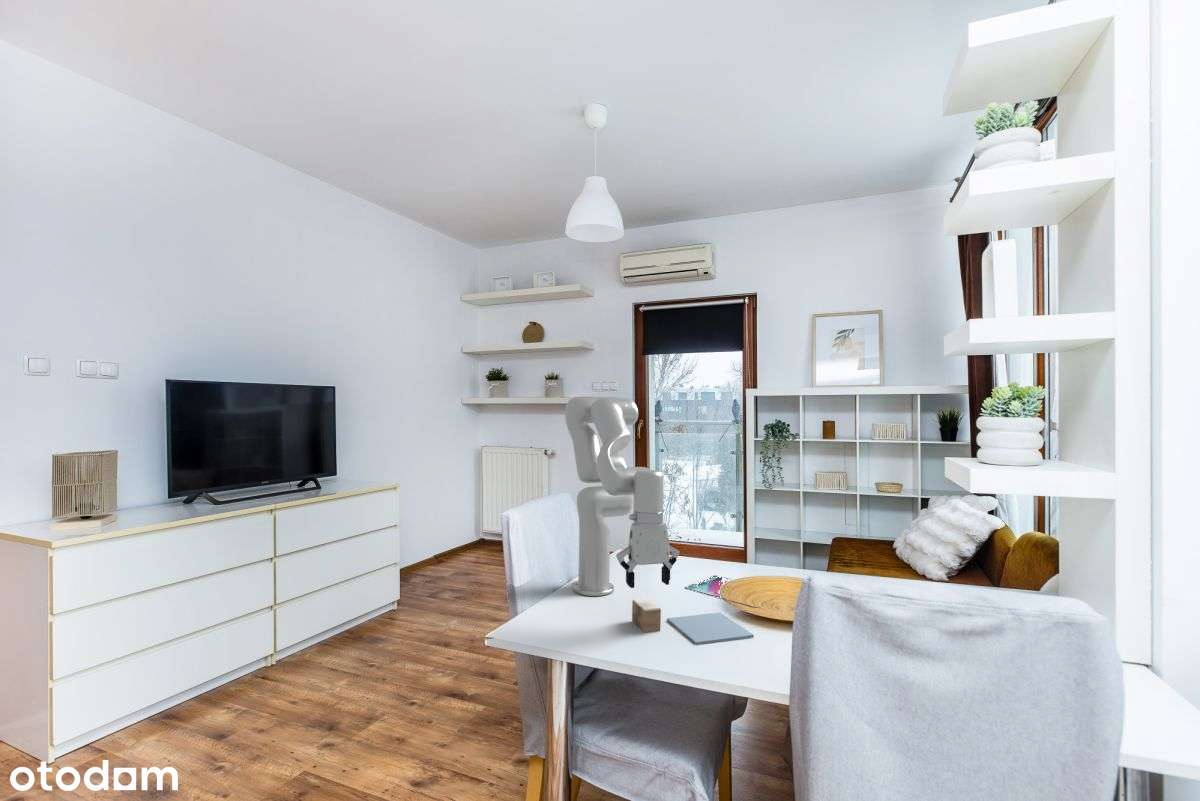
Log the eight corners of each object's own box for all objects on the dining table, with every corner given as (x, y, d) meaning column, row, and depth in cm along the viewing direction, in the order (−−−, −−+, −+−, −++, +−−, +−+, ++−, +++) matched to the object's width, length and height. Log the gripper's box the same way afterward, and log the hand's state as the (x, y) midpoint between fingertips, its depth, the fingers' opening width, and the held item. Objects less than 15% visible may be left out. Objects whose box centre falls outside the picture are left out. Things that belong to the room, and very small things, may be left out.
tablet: (714, 577, 195) (714, 574, 195) (785, 594, 178) (785, 591, 178) (682, 590, 180) (682, 587, 180) (756, 609, 164) (756, 606, 164)
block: (632, 621, 152) (632, 599, 152) (647, 620, 153) (648, 597, 153) (643, 633, 144) (644, 609, 144) (660, 631, 146) (660, 607, 146)
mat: (667, 620, 153) (667, 618, 153) (720, 614, 158) (720, 612, 158) (696, 644, 138) (696, 642, 138) (753, 637, 143) (753, 634, 143)
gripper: (622, 522, 143) (622, 592, 142) (685, 518, 148) (685, 586, 148) (612, 517, 150) (611, 584, 149) (672, 514, 155) (672, 578, 155)
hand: (648, 585), depth 148 cm, fingers open, 9 cm apart
